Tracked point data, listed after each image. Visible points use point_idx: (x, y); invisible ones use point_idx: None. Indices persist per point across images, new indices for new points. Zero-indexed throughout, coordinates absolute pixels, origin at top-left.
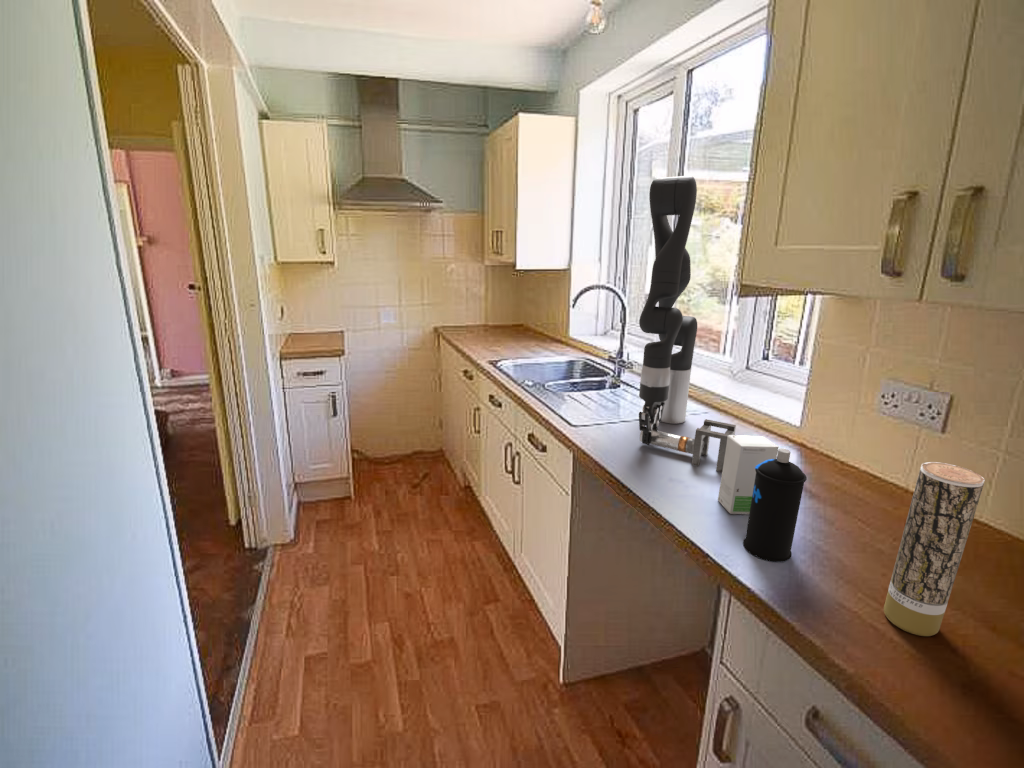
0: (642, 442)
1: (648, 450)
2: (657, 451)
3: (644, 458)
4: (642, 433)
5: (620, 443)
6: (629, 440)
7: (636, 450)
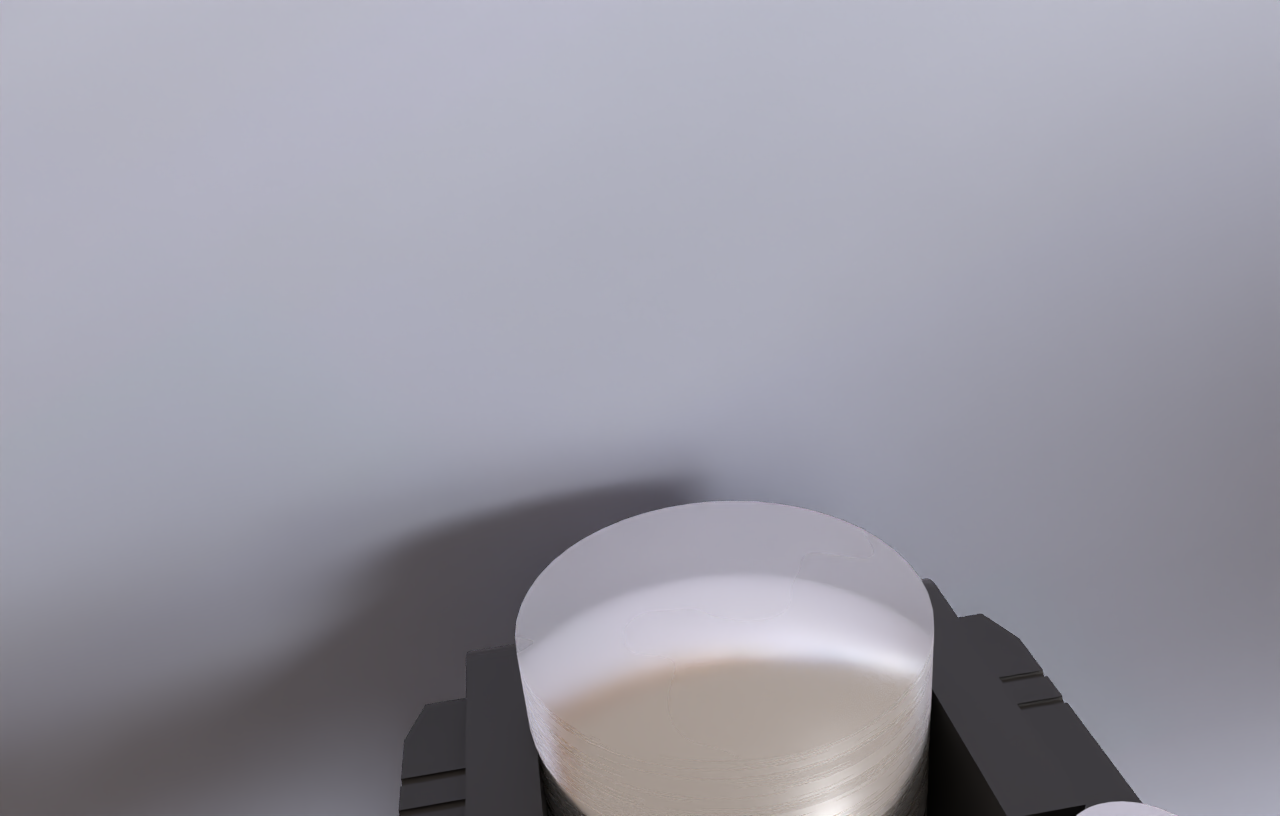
0: (470, 662)
1: None
2: None
3: (93, 801)
4: (563, 756)
5: (391, 30)
6: (750, 109)
7: (315, 525)
